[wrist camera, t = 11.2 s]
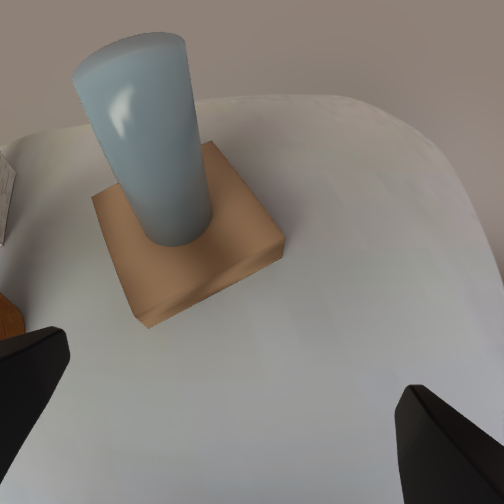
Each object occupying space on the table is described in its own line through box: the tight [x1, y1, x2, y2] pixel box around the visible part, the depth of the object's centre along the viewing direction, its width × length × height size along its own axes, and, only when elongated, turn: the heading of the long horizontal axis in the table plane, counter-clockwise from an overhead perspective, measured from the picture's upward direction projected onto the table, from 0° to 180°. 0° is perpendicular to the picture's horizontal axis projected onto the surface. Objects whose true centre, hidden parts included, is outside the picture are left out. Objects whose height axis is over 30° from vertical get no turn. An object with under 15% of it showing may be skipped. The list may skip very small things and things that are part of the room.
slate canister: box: [72, 32, 212, 247], centre depth 17 cm, size 5×5×12 cm
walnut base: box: [92, 141, 285, 328], centre depth 24 cm, size 11×11×3 cm
